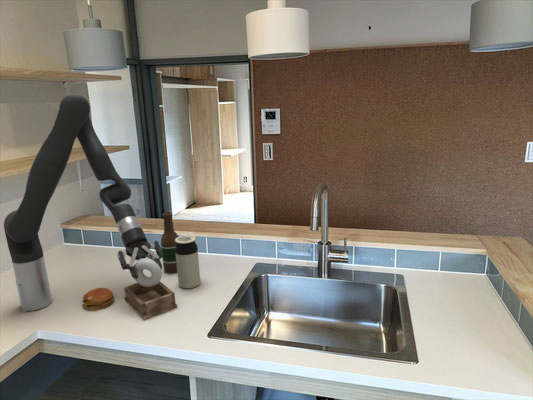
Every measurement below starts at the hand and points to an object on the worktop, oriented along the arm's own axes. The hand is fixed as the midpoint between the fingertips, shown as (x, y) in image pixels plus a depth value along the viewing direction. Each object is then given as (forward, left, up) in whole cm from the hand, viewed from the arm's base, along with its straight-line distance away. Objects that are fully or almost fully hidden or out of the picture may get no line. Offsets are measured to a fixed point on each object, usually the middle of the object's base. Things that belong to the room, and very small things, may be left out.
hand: (148, 274), depth 135 cm
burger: (-14, +13, -12) cm, 22 cm away
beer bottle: (+18, +21, -12) cm, 30 cm away
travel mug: (+17, +5, -12) cm, 21 cm away
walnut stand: (0, +1, -11) cm, 11 cm away
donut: (0, +1, -5) cm, 5 cm away
